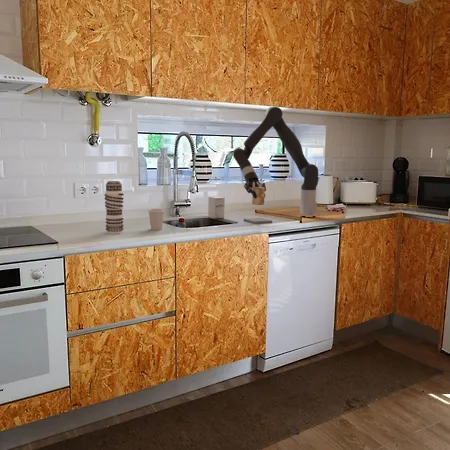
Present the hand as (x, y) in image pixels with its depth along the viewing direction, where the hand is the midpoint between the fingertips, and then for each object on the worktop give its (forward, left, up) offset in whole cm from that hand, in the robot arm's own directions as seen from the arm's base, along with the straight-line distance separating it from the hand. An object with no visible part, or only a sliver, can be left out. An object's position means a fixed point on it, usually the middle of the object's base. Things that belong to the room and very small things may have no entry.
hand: (260, 197), depth 268 cm
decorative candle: (+85, +1, -15) cm, 86 cm away
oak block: (0, -2, -4) cm, 5 cm away
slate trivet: (0, -2, -14) cm, 14 cm away
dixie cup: (+63, 0, -15) cm, 65 cm away
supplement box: (+15, -26, -15) cm, 33 cm away
